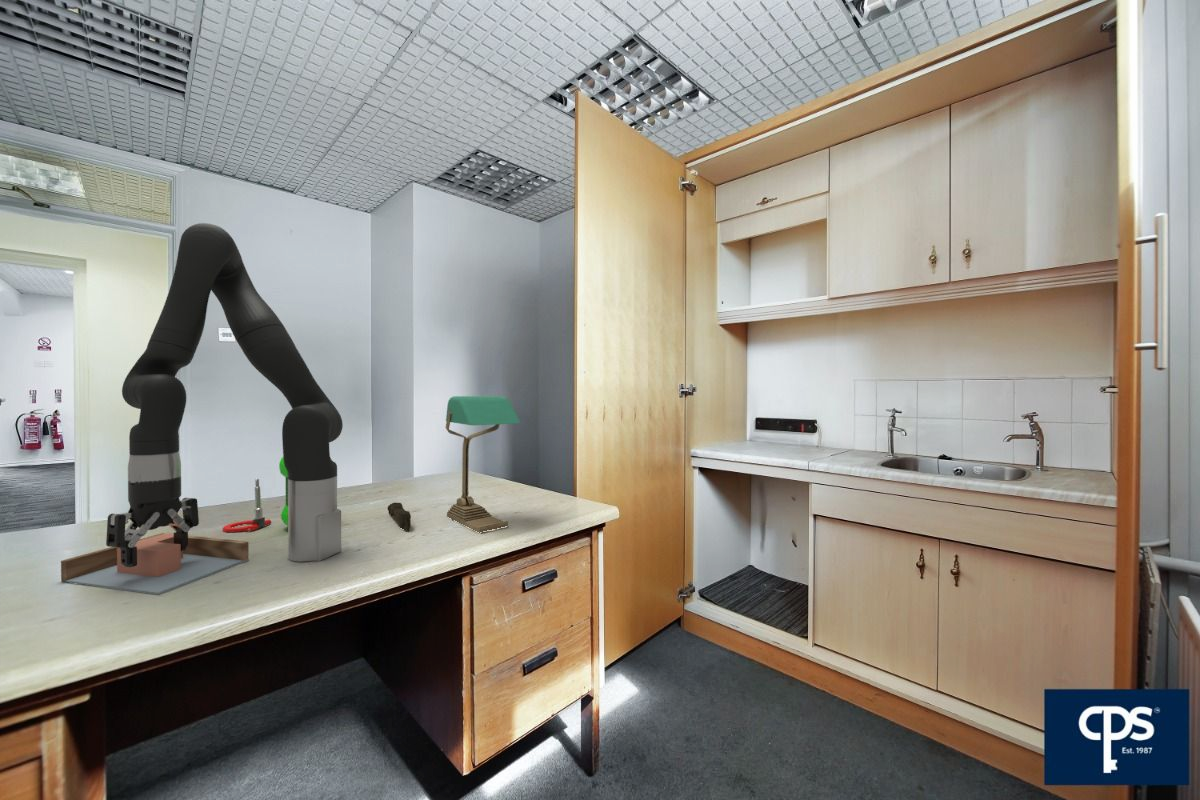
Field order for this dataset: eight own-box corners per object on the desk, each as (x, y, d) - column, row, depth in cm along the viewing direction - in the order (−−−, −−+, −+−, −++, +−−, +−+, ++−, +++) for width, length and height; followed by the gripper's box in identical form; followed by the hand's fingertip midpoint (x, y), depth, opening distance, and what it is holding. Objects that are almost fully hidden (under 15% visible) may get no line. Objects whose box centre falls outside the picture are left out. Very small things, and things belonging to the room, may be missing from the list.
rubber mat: (248, 560, 99) (248, 558, 99) (158, 594, 82) (158, 592, 82) (163, 550, 103) (163, 548, 103) (61, 581, 87) (61, 579, 87)
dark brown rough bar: (387, 516, 134) (387, 500, 134) (402, 514, 136) (402, 498, 136) (396, 535, 118) (396, 517, 118) (413, 532, 120) (413, 515, 120)
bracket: (167, 555, 99) (167, 532, 99) (206, 559, 98) (206, 536, 97) (117, 572, 91) (116, 546, 90) (158, 577, 89) (158, 551, 89)
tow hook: (213, 534, 117) (249, 533, 116) (211, 483, 117) (246, 482, 116) (241, 524, 125) (274, 523, 125) (239, 476, 125) (272, 476, 124)
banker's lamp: (485, 510, 141) (486, 395, 140) (522, 526, 126) (524, 397, 125) (434, 519, 131) (435, 395, 130) (469, 538, 115) (470, 397, 114)
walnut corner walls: (248, 560, 99) (248, 541, 99) (158, 594, 82) (157, 572, 82) (163, 550, 103) (163, 532, 103) (61, 581, 87) (60, 560, 87)
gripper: (179, 468, 98) (180, 544, 99) (94, 482, 84) (95, 570, 85) (208, 470, 97) (208, 547, 97) (126, 484, 83) (127, 574, 83)
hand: (156, 558), depth 91 cm, fingers open, 8 cm apart
